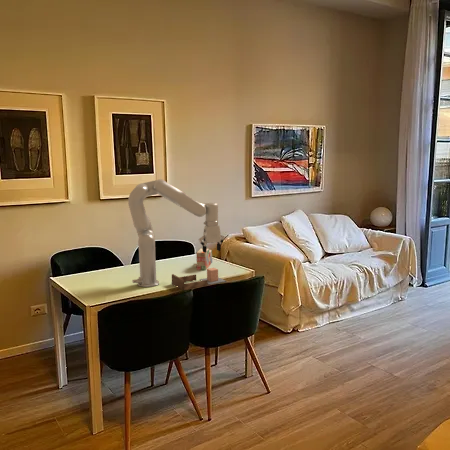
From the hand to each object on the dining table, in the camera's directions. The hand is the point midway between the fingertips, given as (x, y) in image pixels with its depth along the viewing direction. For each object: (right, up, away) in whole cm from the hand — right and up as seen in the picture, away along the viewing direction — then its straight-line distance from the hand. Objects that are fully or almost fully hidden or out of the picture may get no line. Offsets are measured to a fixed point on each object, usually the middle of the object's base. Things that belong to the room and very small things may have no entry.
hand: (211, 251), depth 280 cm
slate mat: (+1, -18, +3) cm, 19 cm away
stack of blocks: (-6, -13, +39) cm, 41 cm away
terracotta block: (+1, -18, +3) cm, 18 cm away
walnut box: (-13, -20, -5) cm, 24 cm away
